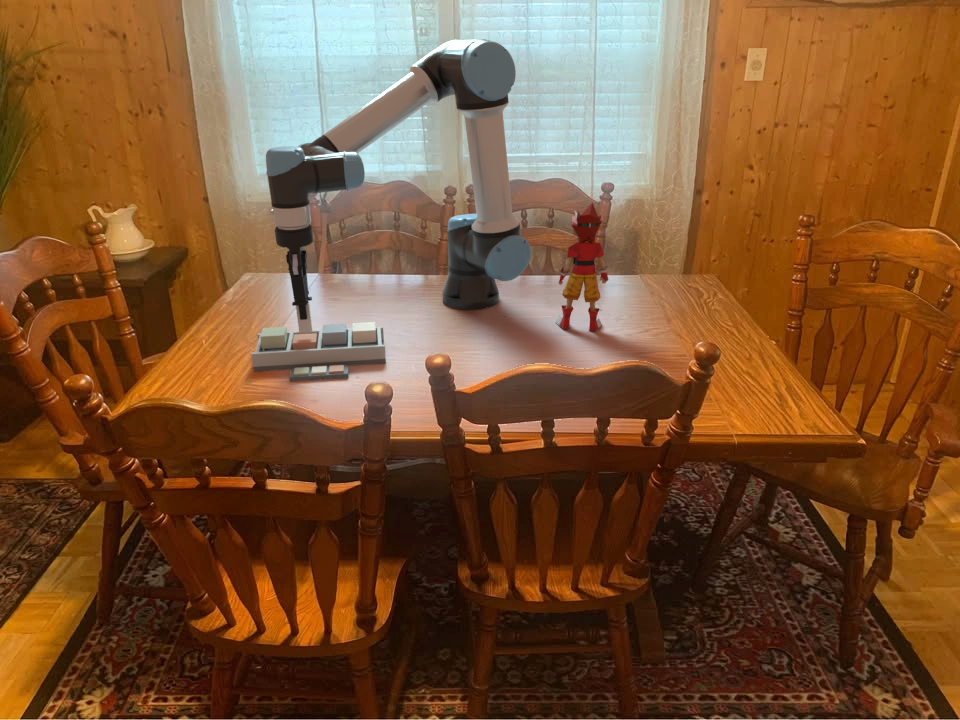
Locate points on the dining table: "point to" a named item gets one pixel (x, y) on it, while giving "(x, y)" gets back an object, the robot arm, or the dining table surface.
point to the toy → (583, 268)
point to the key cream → (364, 332)
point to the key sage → (274, 337)
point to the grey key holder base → (320, 353)
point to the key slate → (334, 334)
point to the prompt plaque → (319, 373)
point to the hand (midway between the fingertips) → (305, 330)
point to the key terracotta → (305, 341)
